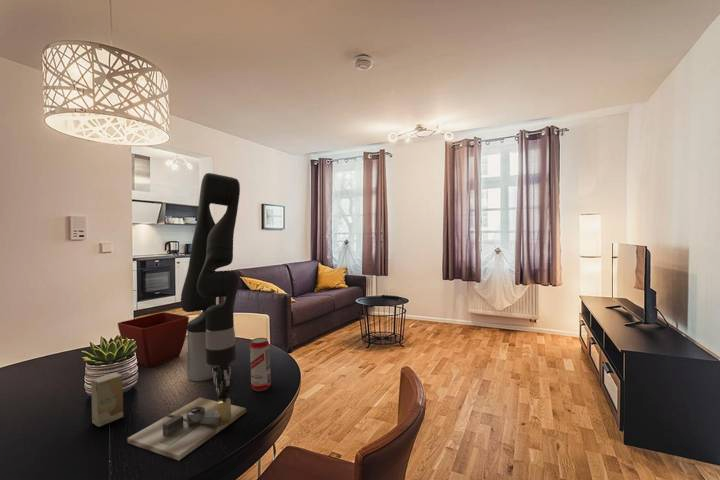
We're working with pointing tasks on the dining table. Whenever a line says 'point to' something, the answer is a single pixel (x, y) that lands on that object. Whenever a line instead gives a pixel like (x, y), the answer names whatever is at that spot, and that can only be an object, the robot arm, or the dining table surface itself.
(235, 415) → the door board
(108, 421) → the skincare box
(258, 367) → the beer can
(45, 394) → the dining table surface
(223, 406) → the latch arm
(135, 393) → the dining table surface
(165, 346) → the plant pot
